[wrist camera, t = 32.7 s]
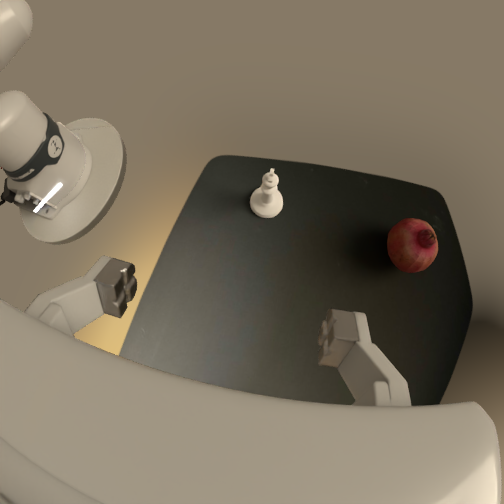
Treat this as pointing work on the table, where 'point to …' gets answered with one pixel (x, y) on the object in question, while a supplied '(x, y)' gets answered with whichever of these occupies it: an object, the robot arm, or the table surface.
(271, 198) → the chess piece
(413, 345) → the table surface
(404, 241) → the fruit
